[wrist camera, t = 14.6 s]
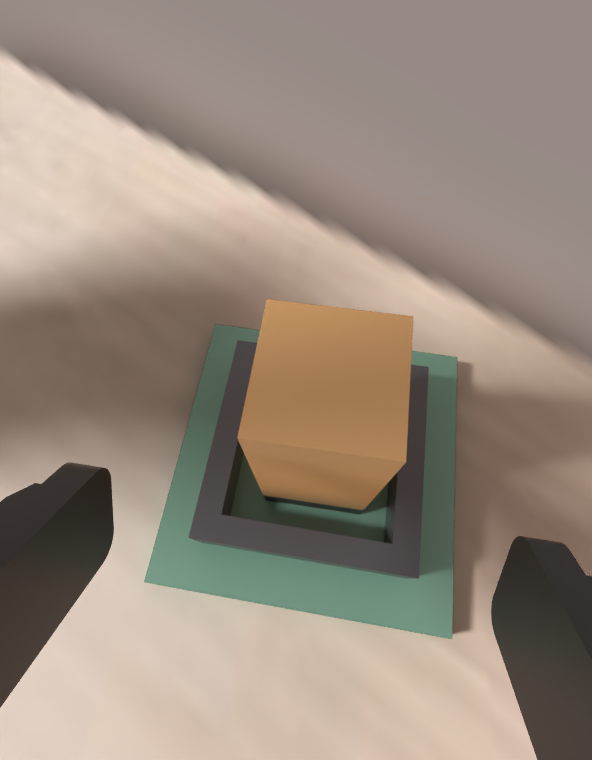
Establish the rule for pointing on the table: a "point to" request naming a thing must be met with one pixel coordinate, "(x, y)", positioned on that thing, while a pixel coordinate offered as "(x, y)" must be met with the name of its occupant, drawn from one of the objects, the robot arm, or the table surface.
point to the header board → (313, 512)
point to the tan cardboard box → (327, 404)
